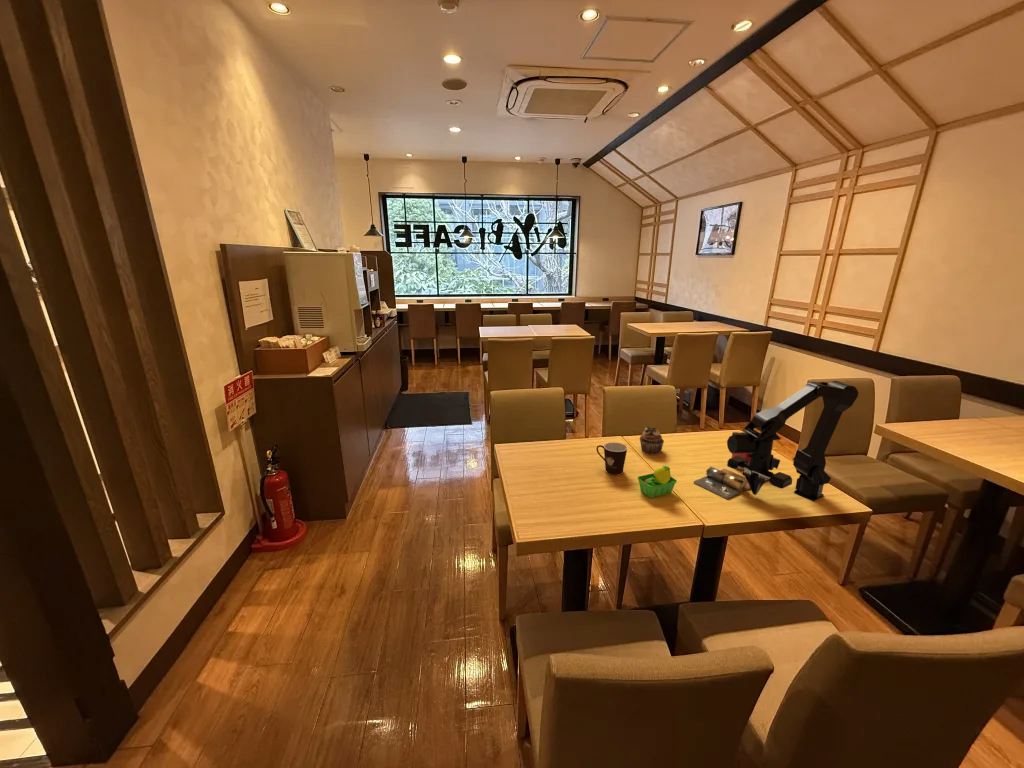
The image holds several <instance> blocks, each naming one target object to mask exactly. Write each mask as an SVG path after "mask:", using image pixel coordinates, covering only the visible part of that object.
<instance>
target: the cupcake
mask: <svg viewBox="0 0 1024 768" xmlns="http://www.w3.org/2000/svg"><path fill="white" fill-rule="evenodd" d="M662 437H663V436H662V434H661V433H660V432H659V430H658V429H657V428H656V427H655V428H654V427H650V426H647V427H645V428H644V431H643V432H642V434H641V435H640V436H639V442H640V448H641V452H642V453H644V452H645V453H644V454H647V453H648V455H659V454H660V453H661V452H662V449H663V445H664V443H665V441H664V439H663V438H662Z"/></svg>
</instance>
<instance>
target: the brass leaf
mask: <svg viewBox="0 0 1024 768" xmlns="http://www.w3.org/2000/svg"><path fill="white" fill-rule="evenodd" d="M719 470H720V471H723V472H725V473H727V474H726V475H725V476H724V478H723V485H726V486H728V487H730V488H732V489H734V490H737V491H739V492H740V493H741V492H743V491H748V490H751V488H750V486H749V483H748V481H747V479H746V478H745V476H744V475H742V474H741V475H740V474H739V473H736V472H734V471H731V470H729V469H726V468H723V469H719Z"/></svg>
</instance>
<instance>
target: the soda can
mask: <svg viewBox="0 0 1024 768" xmlns="http://www.w3.org/2000/svg"><path fill="white" fill-rule="evenodd" d="M748 454H749V453H731V458H733V457H735V456H740V457H743V458H745V459H747V460H748V464H749V462H750V457H748ZM736 469H737V470H739V471H744V468H743V467H740V466H738V468H736Z"/></svg>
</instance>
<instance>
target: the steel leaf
mask: <svg viewBox="0 0 1024 768" xmlns="http://www.w3.org/2000/svg"><path fill="white" fill-rule="evenodd" d="M720 470H721V469H719V468H715V467H713V466H710V467H708V468H707V469H706V474H705V475H706V476H703V477H701V478H698V479H696V480H693V484H695V485H697V486H698V487H701V488H703V489H705V490H706V491H709V492H711V493H713V494H715V495H717V496H719V497H721V498H723V499H726V500H729V499H732V498H734V497H736V496H738V495H740V494H741V492H740V491H738V490H736V489H734V488H732V487H729V486H727V485H725V484H723V478H724V476H725V475H726V474H727V473H725V472H723V471H720Z"/></svg>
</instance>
